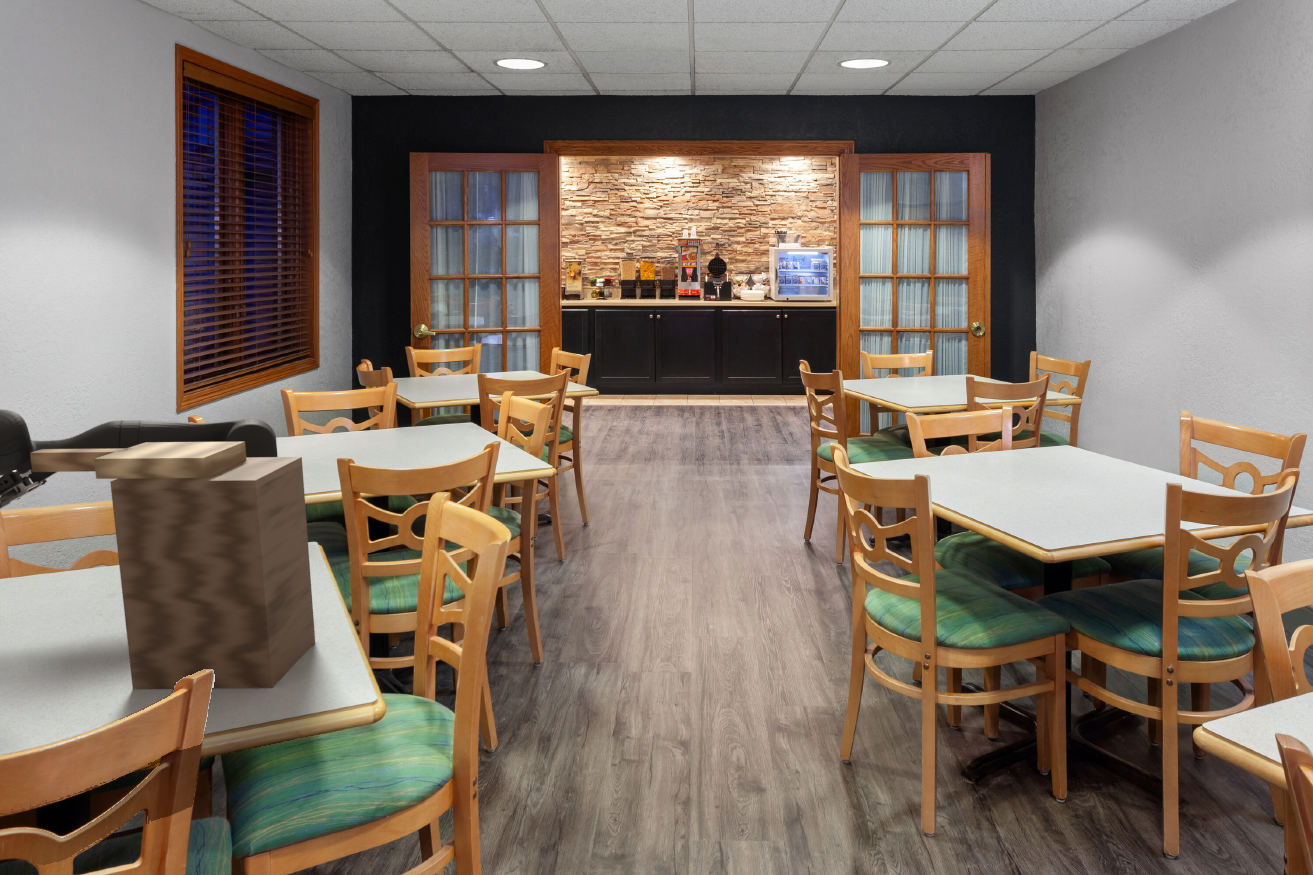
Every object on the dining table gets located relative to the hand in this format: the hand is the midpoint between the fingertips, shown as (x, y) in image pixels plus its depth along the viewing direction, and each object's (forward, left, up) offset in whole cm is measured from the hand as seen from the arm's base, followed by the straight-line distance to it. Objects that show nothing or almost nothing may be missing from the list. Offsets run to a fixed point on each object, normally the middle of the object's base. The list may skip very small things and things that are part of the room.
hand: (37, 469), depth 142 cm
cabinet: (-17, +21, -32) cm, 42 cm away
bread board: (-9, +11, 0) cm, 15 cm away
